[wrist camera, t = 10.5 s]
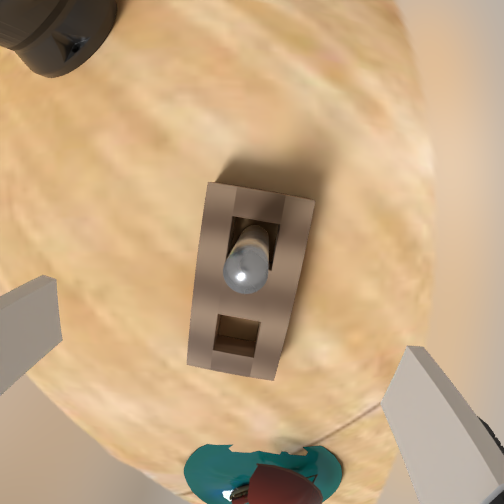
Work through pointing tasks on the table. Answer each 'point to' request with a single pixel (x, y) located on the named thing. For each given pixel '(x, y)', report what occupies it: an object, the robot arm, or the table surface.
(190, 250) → the table surface
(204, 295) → the socket block
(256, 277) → the peg
